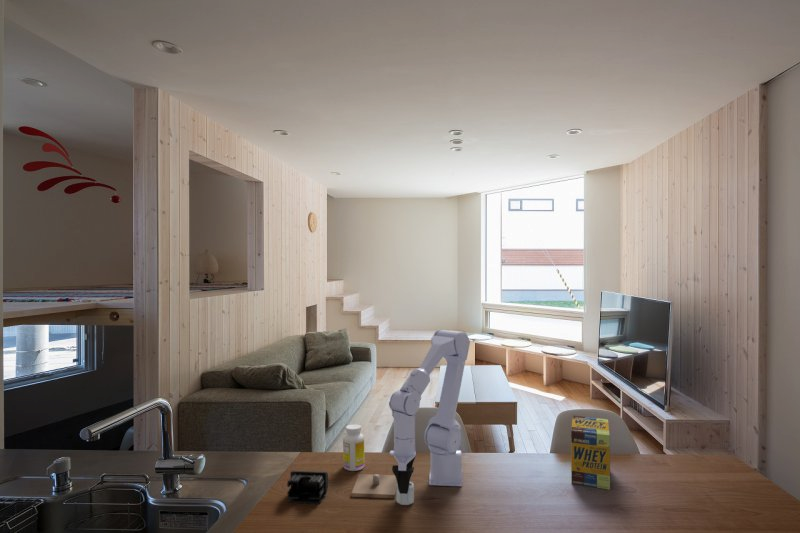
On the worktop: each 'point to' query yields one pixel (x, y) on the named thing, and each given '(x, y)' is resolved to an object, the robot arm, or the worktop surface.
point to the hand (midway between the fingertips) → (404, 486)
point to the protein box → (590, 452)
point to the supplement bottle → (353, 448)
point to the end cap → (307, 487)
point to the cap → (405, 495)
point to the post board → (375, 486)
